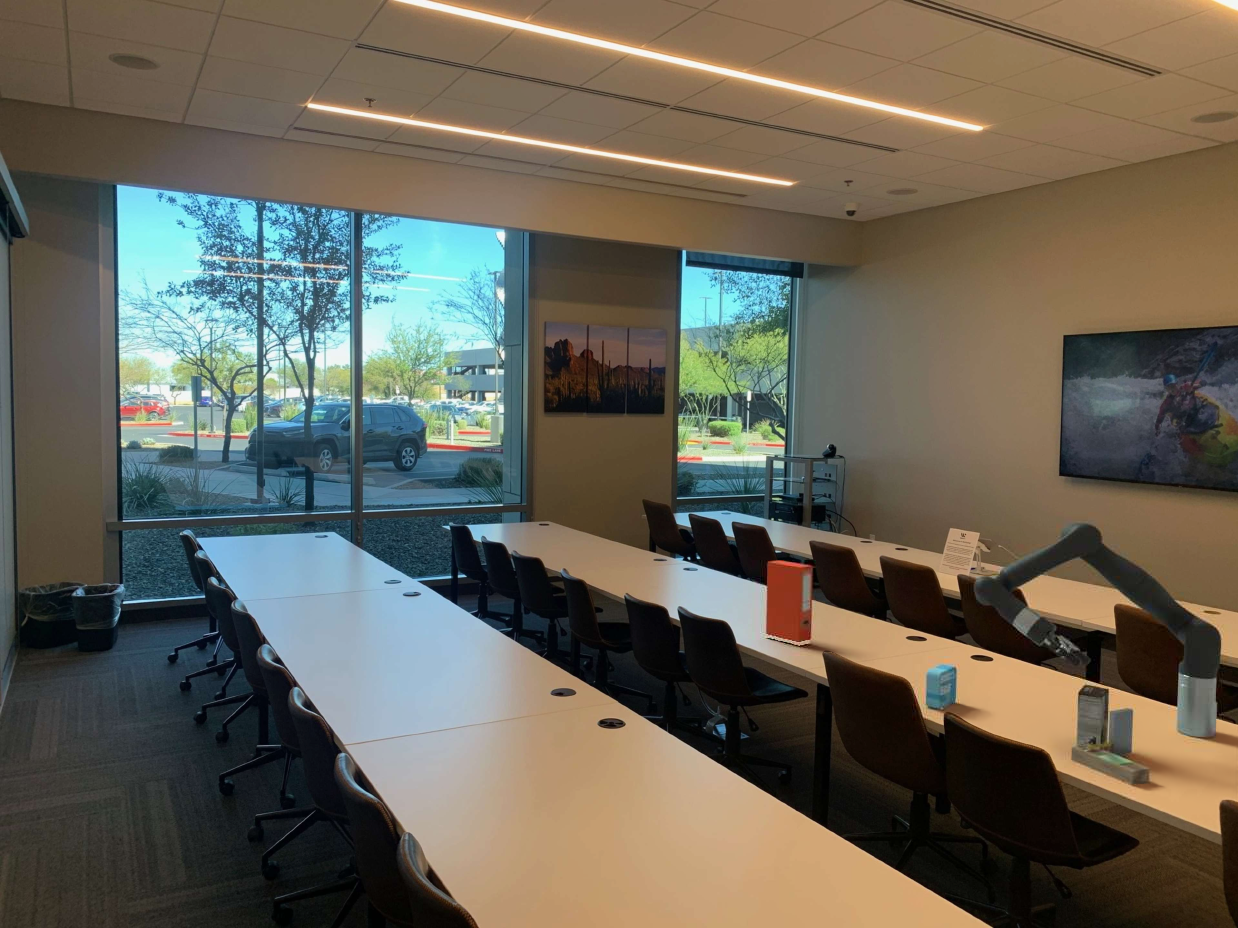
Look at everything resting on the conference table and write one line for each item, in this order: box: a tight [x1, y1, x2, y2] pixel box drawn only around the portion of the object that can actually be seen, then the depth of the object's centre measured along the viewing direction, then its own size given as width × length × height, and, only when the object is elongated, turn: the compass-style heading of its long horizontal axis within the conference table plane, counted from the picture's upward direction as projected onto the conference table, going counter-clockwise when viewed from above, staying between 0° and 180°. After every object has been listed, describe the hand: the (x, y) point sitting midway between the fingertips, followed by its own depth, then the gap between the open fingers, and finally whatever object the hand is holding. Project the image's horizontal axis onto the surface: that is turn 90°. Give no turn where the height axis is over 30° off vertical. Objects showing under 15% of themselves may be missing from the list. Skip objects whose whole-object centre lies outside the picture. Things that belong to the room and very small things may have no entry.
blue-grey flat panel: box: [1087, 707, 1134, 757], centre depth 239 cm, size 16×2×12 cm, turn 112°
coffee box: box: [1076, 684, 1110, 750], centre depth 249 cm, size 9×6×16 cm
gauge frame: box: [1071, 744, 1150, 786], centre depth 232 cm, size 6×18×4 cm, turn 22°
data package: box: [925, 663, 958, 710], centre depth 284 cm, size 12×4×12 cm, turn 134°
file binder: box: [765, 560, 814, 642], centre depth 364 cm, size 8×17×32 cm, turn 39°
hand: (1084, 663), depth 249 cm, fingers open, 8 cm apart
